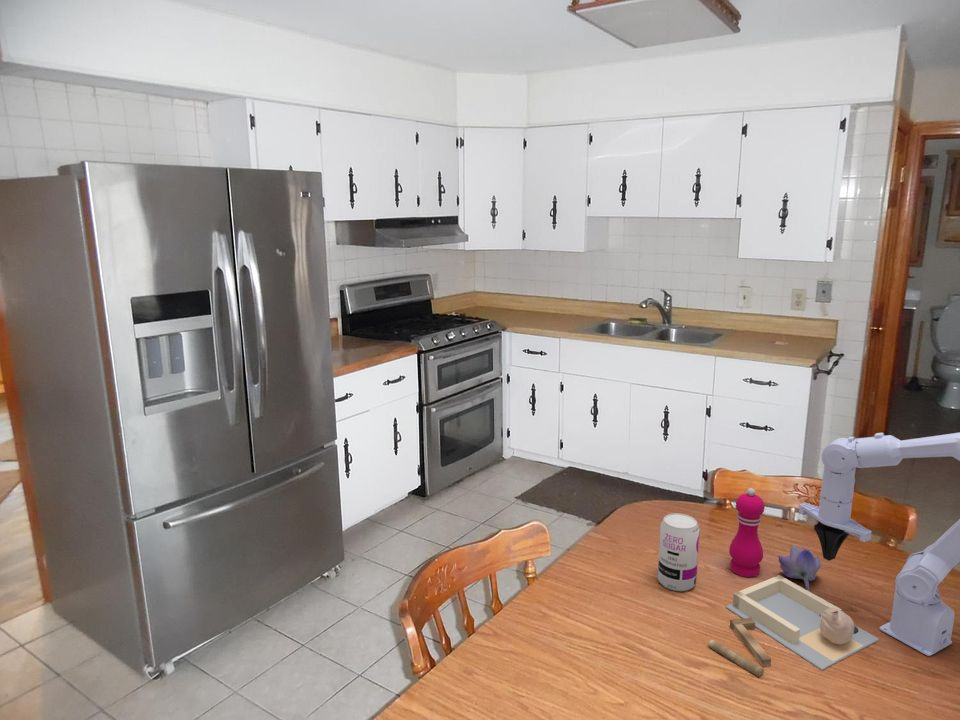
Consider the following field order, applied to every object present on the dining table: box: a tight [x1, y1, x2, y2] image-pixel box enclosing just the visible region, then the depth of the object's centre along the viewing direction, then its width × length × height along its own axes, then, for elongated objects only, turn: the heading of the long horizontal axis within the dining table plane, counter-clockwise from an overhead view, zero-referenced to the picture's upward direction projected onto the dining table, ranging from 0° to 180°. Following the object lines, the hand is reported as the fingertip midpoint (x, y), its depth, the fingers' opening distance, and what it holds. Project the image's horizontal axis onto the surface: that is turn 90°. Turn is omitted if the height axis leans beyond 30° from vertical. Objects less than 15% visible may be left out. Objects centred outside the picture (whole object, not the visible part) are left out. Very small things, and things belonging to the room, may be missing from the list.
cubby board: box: [725, 574, 880, 671], centre depth 135 cm, size 22×17×3 cm
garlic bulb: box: [819, 608, 856, 644], centre depth 129 cm, size 7×6×8 cm
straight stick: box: [708, 639, 765, 678], centre depth 125 cm, size 11×2×2 cm, turn 37°
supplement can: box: [657, 512, 701, 592], centre depth 148 cm, size 8×8×15 cm
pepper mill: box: [728, 487, 765, 578], centre depth 152 cm, size 7×7×20 cm
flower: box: [777, 544, 822, 592], centre depth 148 cm, size 9×8×10 cm
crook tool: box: [729, 618, 772, 668], centre depth 129 cm, size 12×4×2 cm, turn 8°
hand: (829, 558), depth 139 cm, fingers closed
